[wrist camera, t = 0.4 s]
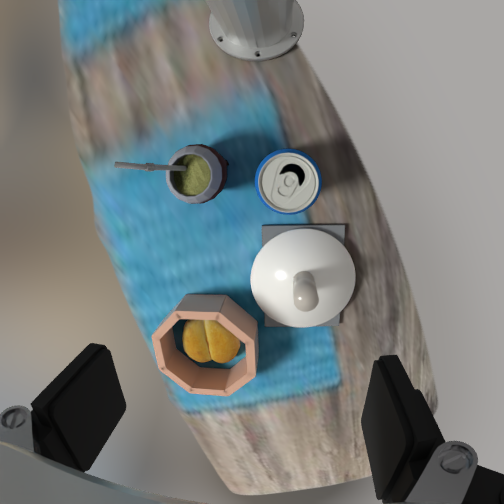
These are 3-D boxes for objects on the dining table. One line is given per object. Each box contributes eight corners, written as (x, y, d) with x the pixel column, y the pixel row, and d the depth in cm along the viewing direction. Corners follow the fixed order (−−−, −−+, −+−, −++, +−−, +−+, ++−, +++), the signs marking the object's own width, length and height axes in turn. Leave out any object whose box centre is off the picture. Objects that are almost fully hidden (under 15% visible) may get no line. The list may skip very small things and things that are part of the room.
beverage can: (321, 167, 39) (336, 171, 28) (296, 209, 41) (300, 229, 30) (277, 142, 39) (275, 135, 28) (253, 184, 41) (241, 195, 29)
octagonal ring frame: (159, 293, 47) (145, 309, 42) (256, 295, 45) (252, 312, 40) (174, 370, 51) (164, 390, 46) (259, 375, 50) (256, 397, 44)
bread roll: (242, 357, 49) (239, 372, 45) (189, 355, 50) (182, 369, 46) (239, 312, 47) (235, 326, 43) (181, 311, 48) (173, 324, 44)
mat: (261, 225, 42) (261, 226, 42) (343, 224, 41) (344, 225, 41) (265, 324, 47) (264, 326, 46) (338, 323, 45) (338, 325, 45)
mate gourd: (241, 185, 41) (218, 199, 27) (189, 208, 43) (143, 234, 28) (218, 134, 39) (183, 122, 25) (167, 159, 41) (112, 163, 27)
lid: (248, 228, 42) (242, 242, 36) (357, 227, 41) (369, 240, 34) (253, 324, 46) (248, 350, 40) (350, 323, 45) (358, 348, 38)
